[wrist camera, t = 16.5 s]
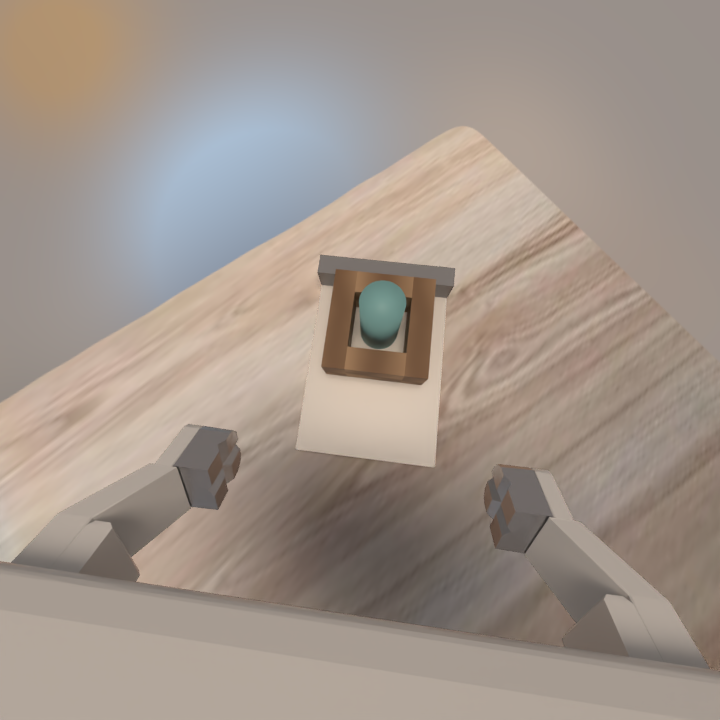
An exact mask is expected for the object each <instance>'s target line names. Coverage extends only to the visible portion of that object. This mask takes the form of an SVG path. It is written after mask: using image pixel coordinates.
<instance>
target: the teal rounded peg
mask: <svg viewBox="0 0 720 720" xmlns="http://www.w3.org/2000/svg"><path fill="white" fill-rule="evenodd" d="M405 308H406V297H405V294H404V292H403V291H402V289H401V288H400V287H399V286H398V285H396V284H394V283H392V282H390V281H384V280H381V281H375V282H372V283H370V284H369V285H367V286H366V287H365V288H364V289H363V291H362V293H361V295H360V298H359V312H360V331H361V337H362V339H363V341H364V342H365V344H366V345H368V346H369V347H371V348H374V349H385V348H387V347H389V346H391V345H392V344H393V343H394V341H395V340H396V338H397V334H398V331H399V328H400V325H401V321H402V318H403V315H404V312H405Z"/></svg>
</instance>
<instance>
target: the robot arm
mask: <svg viewBox="0 0 720 720" xmlns="http://www.w3.org/2000/svg"><path fill="white" fill-rule="evenodd" d="M237 440H238V436H237V432H236V431H233V430H226V429H220V428H213V427H207V426H199V425H192V424H188V425H186V426H184V427H183V428H182V430H181V431H180V432H179V434H178V435H177V436H176V437H175V439H174V440H173V441H172V442H171V444H170V445H169V446H168V447H167V449H166V450H165V451H164V452H163V454H162V455H161V456H160V458H159V459H158V460H157V461H156V463H155V464H148V465H146V466H144V467H142V468H140V469H139V470H137V471H135V472H133V473H131V474H129V475H128V476H126V477H124V478H122V479H120V480H118V481H116V482H115V483H113V484H111V485H109V486H107V487H105V488H104V489H102V490H100V491H98V492H96V493H94V494H93V495H91V496H89V497H87V498H85V499H83V500H81V501H80V502H78V503H76V504H74V505H72V506H70V507H69V508H67V509H65V510H63V511H61V512H59V513H58V514H57V515H56V516H55V517H54V518H53V519H52V520H51V521H50V522H49V523H48V524H47V525H46V526H45V527H44V528H43V530H42V531H41V532H40V533H39V534H38V535H37V536H36V537H35V538H34V539H33V540H32V541H31V542H30V543H29V544H28V545H27V546H26V547H25V548H24V550H23V551H22V552H21V553H20V554H19V555H18V556H17V557H16V558H15V559H14V560H13V561H12V562H11V563H9V562H2V561H0V720H720V671H718V670H712V669H710V668H709V667H708V665H707V663H706V662H705V660H704V658H703V657H702V655H701V653H700V652H699V650H698V648H697V647H696V645H695V643H694V642H693V640H692V638H691V636H690V635H689V633H688V631H687V630H686V628H685V626H684V625H683V623H682V621H681V620H680V618H679V616H678V615H677V613H676V611H675V610H674V608H673V606H672V605H671V603H670V602H669V601H668V600H667V599H666V598H665V597H664V596H663V595H661V594H660V593H659V592H658V591H657V590H656V589H655V588H654V587H653V586H651V585H650V584H649V583H648V582H647V581H646V580H645V579H644V578H642V577H641V576H640V575H639V574H638V573H637V572H636V571H635V570H634V569H632V568H631V567H630V566H629V565H628V564H627V563H626V562H625V561H623V560H622V559H621V558H620V557H619V556H618V555H617V554H616V553H615V552H613V551H612V550H611V549H610V548H609V547H608V546H607V545H606V544H604V543H603V542H602V541H601V540H600V539H599V538H598V537H597V536H596V535H594V534H593V533H592V532H591V531H590V530H589V529H588V528H587V527H585V526H584V525H583V524H582V523H581V522H580V521H575V520H574V519H573V517H572V515H571V513H570V511H569V508H568V506H567V504H566V502H565V500H564V498H563V496H562V494H561V492H560V490H559V488H558V486H557V484H556V481H555V479H554V477H553V475H552V473H551V472H550V471H549V470H543V469H535V468H528V467H520V466H511V465H502V464H496V465H495V466H494V468H493V470H492V475H493V478H492V479H491V480H489V481H487V484H486V487H485V492H484V503H485V508H486V512H487V514H488V515H489V516H490V517H491V518H492V519H493V521H492V523H491V525H490V529H491V533H492V537H493V542H494V546H495V549H501V550H507V551H513V552H519V553H525V556H526V558H527V559H528V560H529V561H530V563H531V564H532V565H533V567H534V568H535V569H536V571H537V572H538V573H539V575H540V576H541V577H542V579H543V580H544V581H545V583H546V584H547V585H548V587H549V588H550V589H551V590H552V592H553V593H554V594H555V596H556V597H557V598H558V600H559V601H560V602H561V604H562V605H563V606H564V608H565V609H566V610H567V612H568V613H569V614H570V616H571V617H572V618H573V619H574V621H575V622H576V624H575V625H574V626H573V627H572V628H571V629H570V630H569V631H568V632H567V633H566V634H565V635H564V637H563V638H562V640H563V643H564V646H565V647H560V646H554V645H547V644H541V643H534V642H528V641H521V640H514V639H508V638H501V637H495V636H488V635H482V634H475V633H469V632H462V631H456V630H449V629H442V628H436V627H429V626H423V625H416V624H410V623H403V622H397V621H390V620H383V619H377V618H370V617H364V616H357V615H351V614H344V613H338V612H331V611H324V610H318V609H311V608H305V607H298V606H292V605H285V604H279V603H272V602H265V601H259V600H252V599H246V598H239V597H232V596H226V595H219V594H213V593H206V592H200V591H193V590H186V589H180V588H173V587H167V586H160V585H154V584H147V583H140V582H136V581H137V579H138V577H139V576H140V574H139V570H138V568H137V566H136V564H135V563H134V561H133V559H132V558H131V557H132V556H133V555H134V554H136V553H137V552H138V551H139V550H141V549H142V548H143V547H144V546H145V545H147V544H148V543H149V542H150V541H152V540H153V539H154V538H155V537H156V536H158V535H159V534H160V533H161V532H163V531H164V530H165V529H166V528H167V527H169V526H170V525H171V524H172V523H174V522H175V521H176V520H177V519H178V518H180V517H181V516H182V515H183V514H185V513H186V512H187V511H188V510H189V509H191V507H198V508H207V509H216V510H218V509H219V507H220V505H221V503H222V501H223V500H224V498H225V496H226V494H227V492H228V488H227V483H228V482H230V481H231V480H233V479H234V478H235V476H236V474H237V472H238V469H239V465H240V461H241V452H240V448H239V447H238V446H237V445H236V442H237Z"/></svg>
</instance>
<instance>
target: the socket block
mask: <svg viewBox="0 0 720 720" xmlns="http://www.w3.org/2000/svg"><path fill="white" fill-rule="evenodd" d="M381 280H384V281H390V282H392V283H394V284H396V285H398V286H399V287H400V288H401V289H402V291H403V292H404V294H405V297H406V308H405V312H407V318H406V329H405V339H404V349H403V353H400V352H392V351H383V350H374V349H365V348H357V347H351V342H352V335H353V327H354V320H355V313H356V307H359V298H360V295H361V293H362V291H363V289H364V288H365V287H366V286H367V285H369V284H370V283H372V282H375V281H381ZM435 288H436V279H428V278H419V277H409V276H399V275H389V274H380V273H370V272H360V271H350V270H340V269H336V271H335V278H334V284H333V291H332V298H331V304H330V311H329V317H328V324H327V331H326V337H325V344H324V350H323V357H322V364H321V367H322V368H323V370H324V371H325V373H326V374H331V375H339V376H348V377H356V378H365V379H373V380H382V381H390V382H399V383H407V384H416V385H422V384H423V383H424V382H425V381H427V380H428V376H429V363H430V351H431V338H432V326H433V313H434V301H435Z"/></svg>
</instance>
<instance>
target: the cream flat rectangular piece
mask: <svg viewBox="0 0 720 720" xmlns="http://www.w3.org/2000/svg"><path fill="white" fill-rule="evenodd" d="M336 269H340V270H350V271H360V272H370V273H380V274H389V275H399V276H409V277H419V278H428V279H436V288H435V301H434V313H433V326H432V338H431V351H430V363H429V376H428V380H427V381H425V382H424V383H423V384H422V385H416V384H407V383H399V382H390V381H382V380H373V379H365V378H356V377H348V376H339V375H331V374H326V373H325V371H324V370H323V368H322V367H321V364H322V357H323V350H324V344H325V337H326V331H327V324H328V317H329V311H330V304H331V298H332V291H333V284H334V278H335V271H336ZM318 275H319V278H320V281H321V284H322V286H321V292H320V298H319V305H318V311H317V317H316V323H315V330H314V336H313V342H312V348H311V355H310V361H309V367H308V374H307V380H306V386H305V392H304V399H303V405H302V411H301V417H300V424H299V430H298V436H297V442H296V450H303V451H311V452H319V453H326V454H334V455H342V456H349V457H357V458H365V459H372V460H380V461H388V462H396V463H403V464H411V465H419V466H426V467H434V468H435V457H436V443H437V429H438V415H439V401H440V387H441V373H442V359H443V345H444V331H445V317H446V303H447V297H448V295H449V294H450V292H451V290H452V288H453V287H454V276H455V268H447V267H437V266H427V265H417V264H407V263H397V262H387V261H377V260H367V259H357V258H347V257H337V256H327V255H320V261H319V267H318ZM406 318H407V312H404V315H403V318H402V321H401V325H400V328H399V331H398V334H397V338H396V340H395V341H394V343H393V344H392V345H391V346H389V347H387V348H385V349H374V348H371V347H369V346H368V345H366V344H365V342H364V341H363V339H362V337H361V331H360V312H359V307H356V313H355V320H354V327H353V335H352V342H351V347H357V348H365V349H374V350H383V351H392V352H400V353H403V349H404V339H405V329H406Z"/></svg>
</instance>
